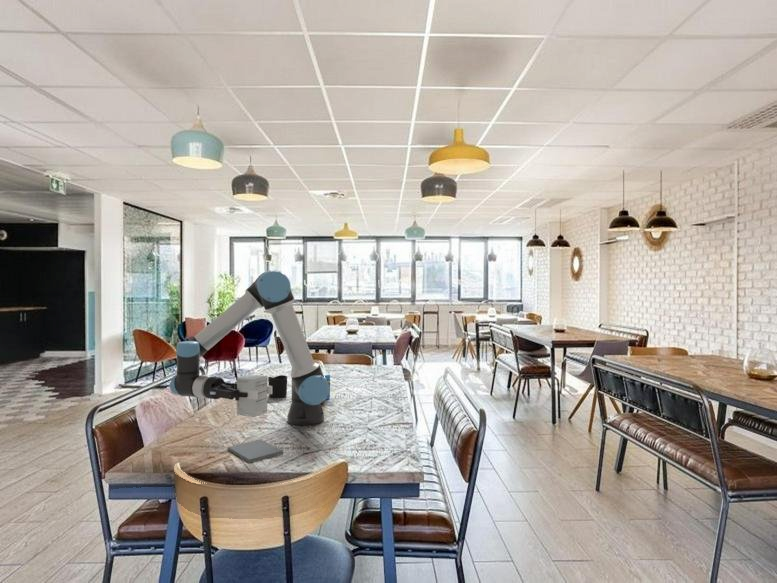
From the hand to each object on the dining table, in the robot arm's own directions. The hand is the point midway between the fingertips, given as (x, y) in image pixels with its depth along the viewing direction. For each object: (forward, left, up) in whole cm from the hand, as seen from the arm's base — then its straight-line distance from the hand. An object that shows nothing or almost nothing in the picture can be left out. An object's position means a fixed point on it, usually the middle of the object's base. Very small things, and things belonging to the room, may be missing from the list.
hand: (264, 392), depth 155 cm
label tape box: (-49, +57, -21) cm, 78 cm away
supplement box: (-4, -2, -8) cm, 9 cm away
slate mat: (-4, -1, -21) cm, 21 cm away
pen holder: (-70, +45, -21) cm, 86 cm away
